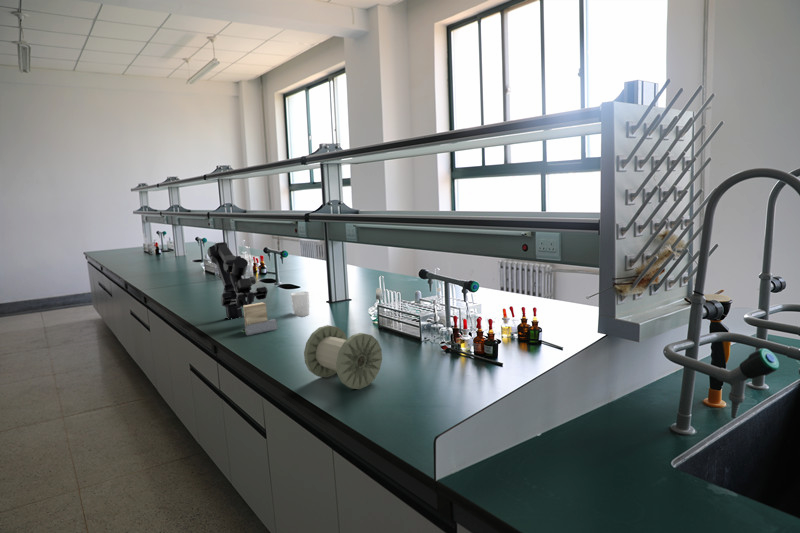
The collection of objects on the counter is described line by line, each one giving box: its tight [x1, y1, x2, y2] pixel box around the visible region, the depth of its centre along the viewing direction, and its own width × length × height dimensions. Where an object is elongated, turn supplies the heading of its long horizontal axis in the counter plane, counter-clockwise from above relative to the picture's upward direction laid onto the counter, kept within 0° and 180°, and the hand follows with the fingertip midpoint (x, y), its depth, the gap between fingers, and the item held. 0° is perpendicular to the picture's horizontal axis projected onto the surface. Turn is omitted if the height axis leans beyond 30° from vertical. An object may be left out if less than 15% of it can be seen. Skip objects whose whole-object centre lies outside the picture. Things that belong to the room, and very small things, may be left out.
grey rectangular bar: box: [244, 318, 278, 336], centre depth 205 cm, size 2×12×4 cm, turn 123°
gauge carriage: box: [241, 302, 268, 332], centre depth 209 cm, size 4×10×10 cm, turn 123°
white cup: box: [290, 291, 310, 318], centre depth 234 cm, size 8×8×10 cm
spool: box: [303, 324, 383, 390], centre depth 148 cm, size 16×15×15 cm
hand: (250, 312), depth 215 cm, fingers closed
